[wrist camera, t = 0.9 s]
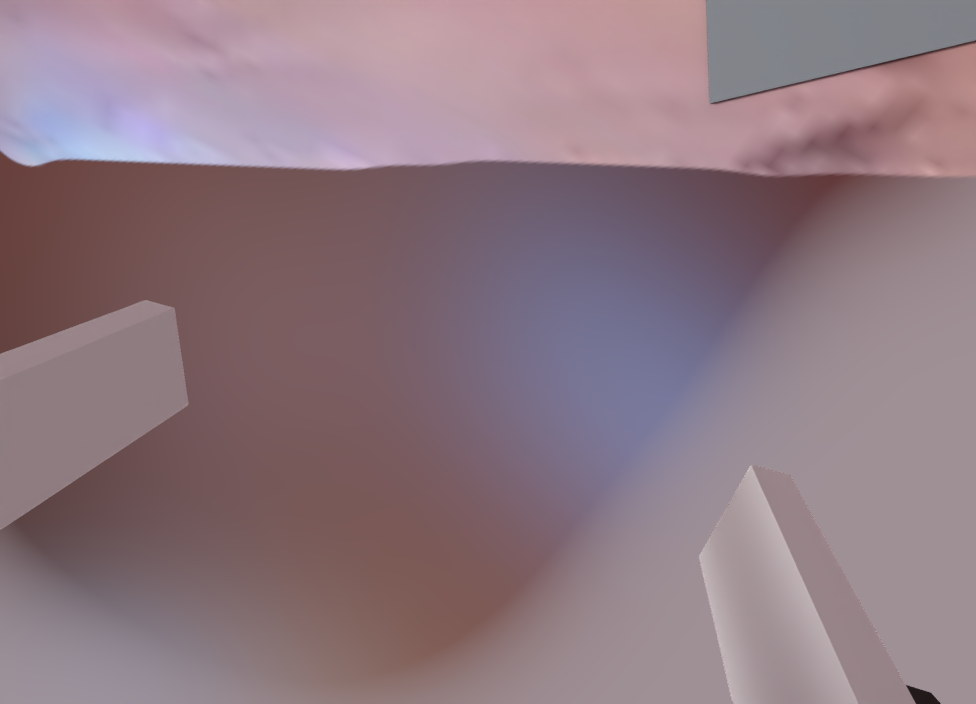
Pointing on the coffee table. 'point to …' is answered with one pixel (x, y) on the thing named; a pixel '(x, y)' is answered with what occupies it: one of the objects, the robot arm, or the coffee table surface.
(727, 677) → the robot arm
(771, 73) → the mat
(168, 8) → the coffee table surface
